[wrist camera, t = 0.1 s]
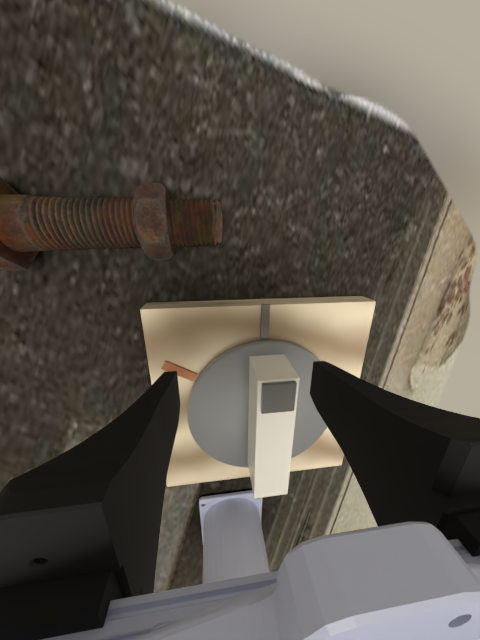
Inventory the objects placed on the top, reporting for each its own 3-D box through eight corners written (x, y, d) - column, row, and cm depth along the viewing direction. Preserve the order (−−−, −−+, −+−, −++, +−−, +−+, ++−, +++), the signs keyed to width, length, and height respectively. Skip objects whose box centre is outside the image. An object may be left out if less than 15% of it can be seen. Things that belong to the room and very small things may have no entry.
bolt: (217, 234, 20) (29, 236, 18) (217, 170, 17) (-21, 162, 14) (224, 276, 17) (-11, 285, 15) (226, 205, 13) (-93, 203, 11)
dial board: (332, 450, 29) (342, 466, 27) (170, 469, 27) (166, 489, 24) (361, 294, 22) (378, 300, 20) (146, 301, 20) (138, 309, 18)
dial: (321, 451, 25) (345, 497, 21) (193, 466, 24) (190, 519, 19) (340, 335, 21) (377, 362, 16) (182, 343, 19) (174, 376, 14)
